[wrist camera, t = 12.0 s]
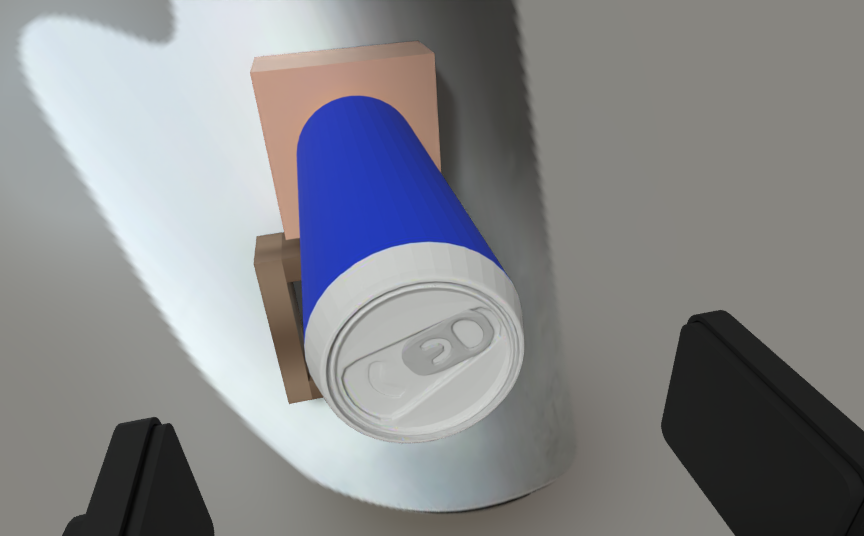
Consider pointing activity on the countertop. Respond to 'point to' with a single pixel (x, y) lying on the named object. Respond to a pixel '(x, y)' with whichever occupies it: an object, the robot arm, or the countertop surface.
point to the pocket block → (284, 311)
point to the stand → (329, 80)
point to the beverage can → (397, 282)
